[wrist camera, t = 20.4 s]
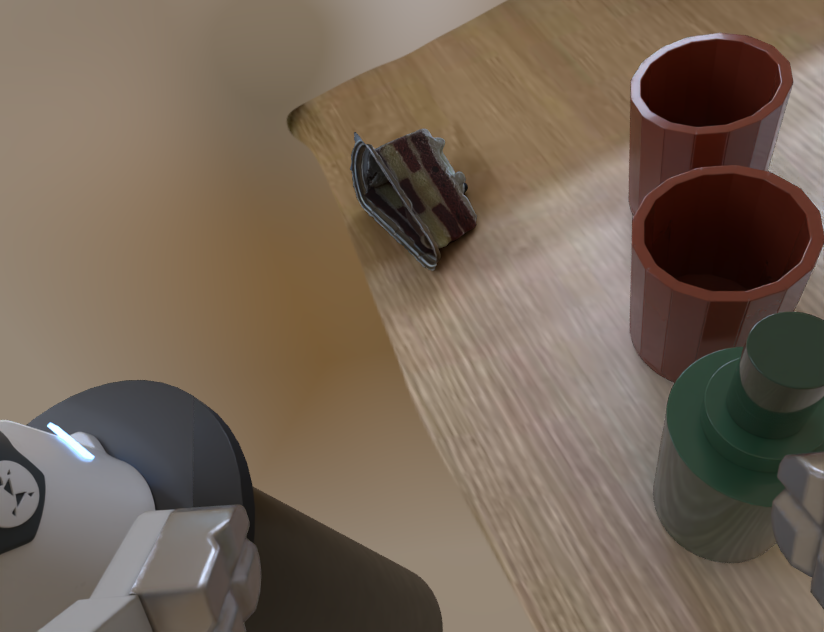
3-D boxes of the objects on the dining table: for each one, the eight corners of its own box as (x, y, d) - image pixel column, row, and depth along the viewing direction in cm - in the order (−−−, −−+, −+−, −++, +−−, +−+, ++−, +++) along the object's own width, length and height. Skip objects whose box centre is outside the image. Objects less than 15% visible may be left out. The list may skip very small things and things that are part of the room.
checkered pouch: (514, 230, 46) (449, 83, 44) (440, 269, 44) (368, 115, 42) (459, 247, 55) (403, 124, 53) (395, 280, 52) (334, 153, 51)
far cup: (657, 259, 41) (667, 153, 33) (611, 177, 45) (608, 67, 37) (783, 217, 40) (825, 97, 32) (721, 137, 44) (744, 15, 36)
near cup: (663, 407, 36) (676, 325, 27) (609, 296, 40) (606, 199, 32) (806, 363, 35) (864, 264, 26) (734, 255, 39) (764, 143, 31)
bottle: (684, 577, 31) (742, 482, 16) (634, 462, 35) (644, 298, 20) (810, 544, 30) (991, 412, 15) (745, 429, 34) (842, 233, 19)
